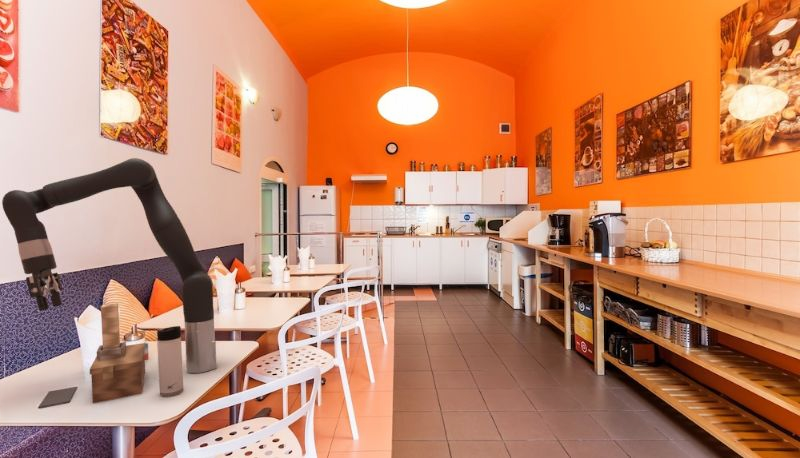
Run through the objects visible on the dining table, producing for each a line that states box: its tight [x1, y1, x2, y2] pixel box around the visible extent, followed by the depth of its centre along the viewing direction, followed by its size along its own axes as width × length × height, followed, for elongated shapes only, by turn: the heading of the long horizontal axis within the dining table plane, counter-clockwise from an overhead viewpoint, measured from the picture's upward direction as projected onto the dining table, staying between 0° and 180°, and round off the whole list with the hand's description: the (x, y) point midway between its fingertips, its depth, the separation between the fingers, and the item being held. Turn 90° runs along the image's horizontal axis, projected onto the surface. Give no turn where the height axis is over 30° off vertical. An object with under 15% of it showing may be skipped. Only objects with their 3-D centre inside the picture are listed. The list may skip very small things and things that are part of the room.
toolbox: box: [89, 341, 146, 404], centre depth 131 cm, size 13×21×13 cm, turn 29°
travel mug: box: [156, 325, 184, 398], centre depth 125 cm, size 6×7×20 cm
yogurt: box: [144, 342, 149, 361], centre depth 150 cm, size 12×2×6 cm, turn 2°
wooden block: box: [100, 303, 121, 350], centre depth 130 cm, size 4×4×16 cm
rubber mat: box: [37, 386, 79, 409], centre depth 124 cm, size 7×12×1 cm, turn 29°
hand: (51, 307), depth 126 cm, fingers open, 8 cm apart
